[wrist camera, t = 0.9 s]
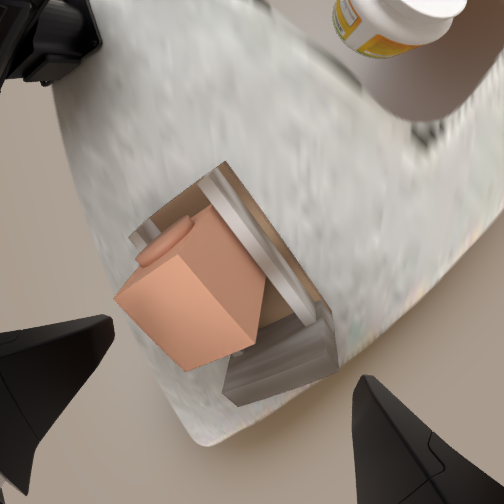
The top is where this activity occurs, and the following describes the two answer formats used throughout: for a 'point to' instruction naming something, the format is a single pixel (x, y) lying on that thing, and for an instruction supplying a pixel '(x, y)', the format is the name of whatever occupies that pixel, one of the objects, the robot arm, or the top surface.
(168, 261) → the peach knobbed cube
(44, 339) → the robot arm
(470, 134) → the top surface
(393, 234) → the top surface
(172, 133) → the top surface
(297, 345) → the rail
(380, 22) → the supplement bottle
